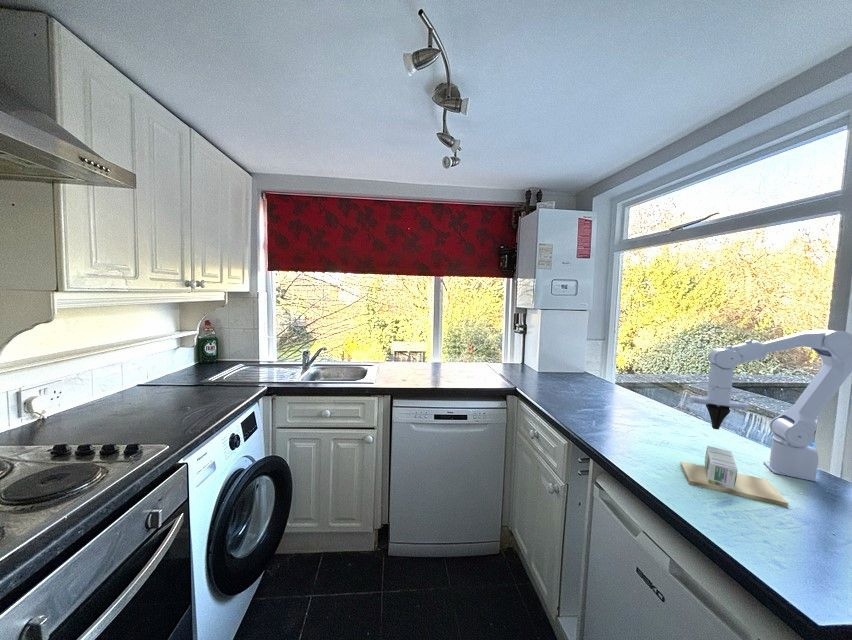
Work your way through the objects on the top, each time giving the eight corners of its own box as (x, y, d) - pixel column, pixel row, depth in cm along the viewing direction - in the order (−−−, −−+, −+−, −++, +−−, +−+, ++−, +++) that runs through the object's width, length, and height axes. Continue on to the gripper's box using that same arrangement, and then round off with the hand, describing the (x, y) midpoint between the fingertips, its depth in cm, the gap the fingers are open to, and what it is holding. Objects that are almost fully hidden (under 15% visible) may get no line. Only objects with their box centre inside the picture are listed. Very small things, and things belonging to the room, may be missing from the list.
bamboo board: (766, 482, 99) (767, 479, 99) (787, 506, 88) (788, 503, 88) (680, 464, 108) (680, 461, 108) (689, 483, 97) (689, 480, 97)
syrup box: (706, 444, 107) (709, 462, 96) (732, 451, 104) (737, 469, 92) (704, 462, 108) (706, 482, 96) (729, 469, 104) (735, 490, 93)
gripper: (745, 387, 112) (740, 428, 113) (689, 380, 119) (685, 420, 120) (753, 392, 106) (748, 436, 107) (693, 385, 112) (689, 426, 113)
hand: (715, 428), depth 113 cm, fingers closed
